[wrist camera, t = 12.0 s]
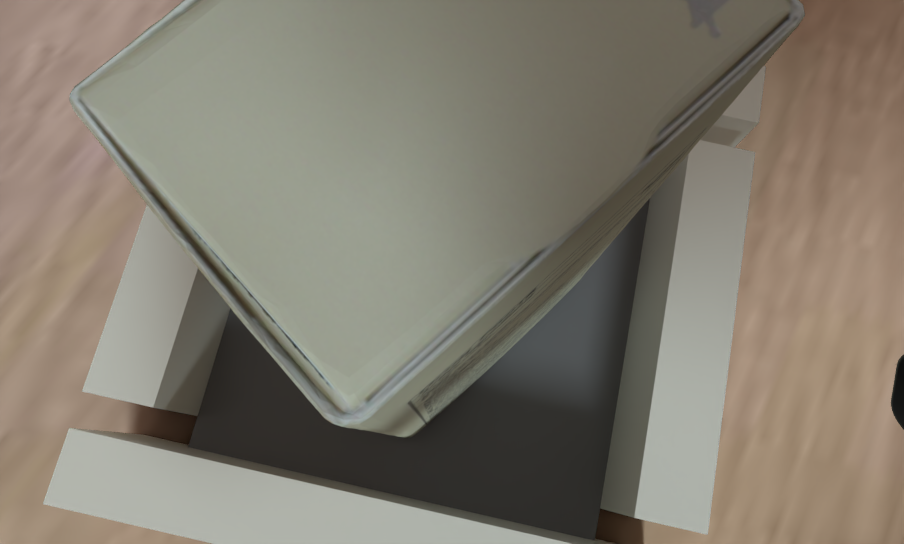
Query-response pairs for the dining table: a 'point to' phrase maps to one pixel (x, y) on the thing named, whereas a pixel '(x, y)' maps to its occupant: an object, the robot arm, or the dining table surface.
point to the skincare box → (412, 165)
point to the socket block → (461, 423)
